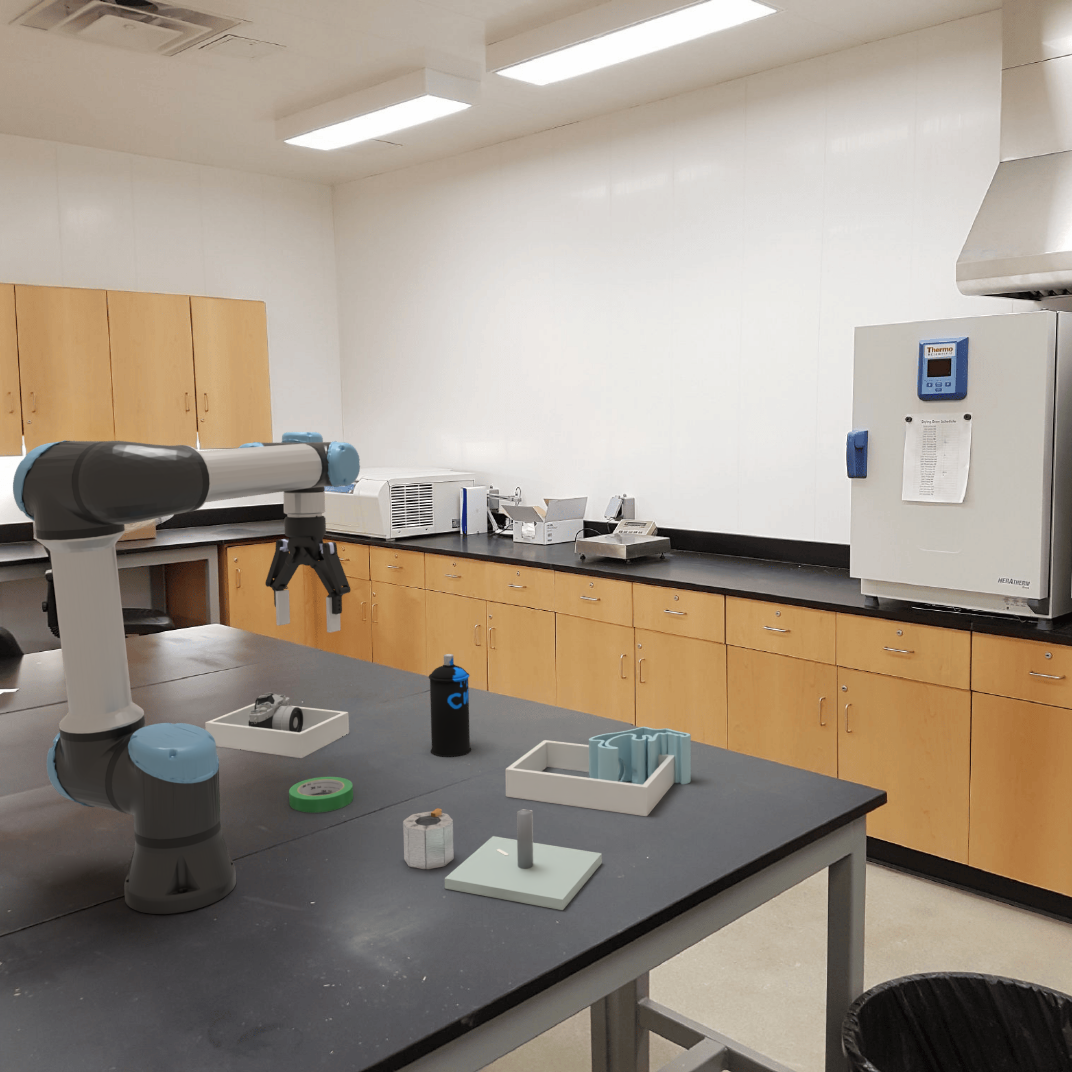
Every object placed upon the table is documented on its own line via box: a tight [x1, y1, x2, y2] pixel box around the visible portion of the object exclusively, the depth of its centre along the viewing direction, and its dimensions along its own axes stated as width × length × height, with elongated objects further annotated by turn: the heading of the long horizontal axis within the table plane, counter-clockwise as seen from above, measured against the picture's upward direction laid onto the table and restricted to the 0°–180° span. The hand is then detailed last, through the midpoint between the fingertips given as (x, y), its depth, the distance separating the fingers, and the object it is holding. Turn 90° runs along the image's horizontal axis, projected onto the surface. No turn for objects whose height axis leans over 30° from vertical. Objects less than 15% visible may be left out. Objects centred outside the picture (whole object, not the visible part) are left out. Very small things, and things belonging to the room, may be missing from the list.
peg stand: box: [444, 808, 603, 911], centre depth 146 cm, size 16×18×10 cm
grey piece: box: [402, 808, 455, 870], centre depth 153 cm, size 7×7×7 cm
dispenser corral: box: [505, 739, 675, 817], centre depth 181 cm, size 18×26×5 cm
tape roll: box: [288, 776, 354, 814], centre depth 178 cm, size 11×11×3 cm
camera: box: [248, 691, 303, 733], centre depth 213 cm, size 16×9×10 cm, turn 168°
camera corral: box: [204, 703, 350, 759], centre depth 213 cm, size 17×24×5 cm
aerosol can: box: [428, 653, 472, 758], centre depth 203 cm, size 8×8×20 cm
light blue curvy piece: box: [588, 726, 692, 785], centre depth 183 cm, size 18×10×9 cm, turn 122°
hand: (308, 627), depth 189 cm, fingers open, 13 cm apart
